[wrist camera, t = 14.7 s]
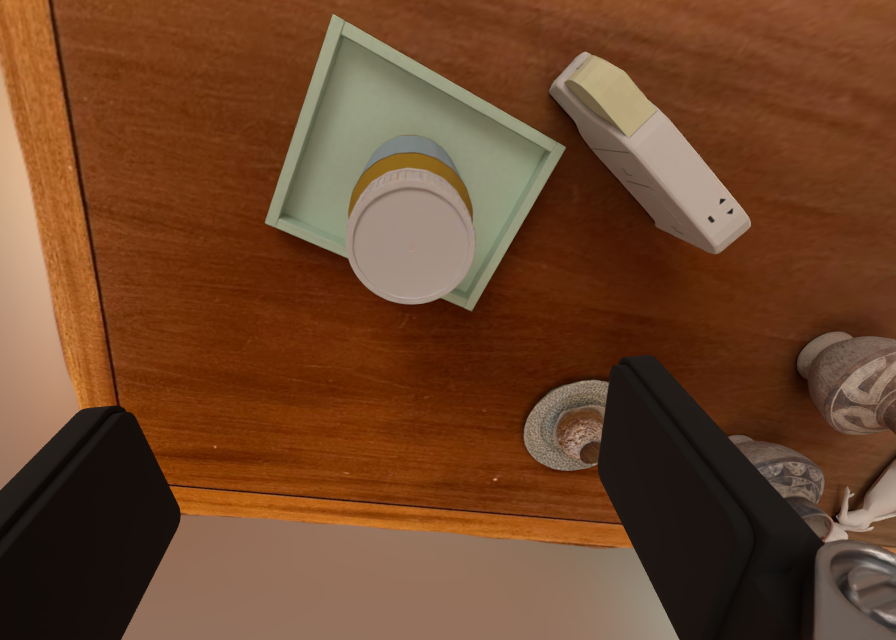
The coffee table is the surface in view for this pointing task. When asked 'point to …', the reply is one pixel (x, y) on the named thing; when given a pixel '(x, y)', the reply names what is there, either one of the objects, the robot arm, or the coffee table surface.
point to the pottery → (831, 414)
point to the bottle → (410, 222)
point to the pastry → (568, 426)
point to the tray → (394, 114)
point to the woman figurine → (868, 506)
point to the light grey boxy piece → (648, 154)
